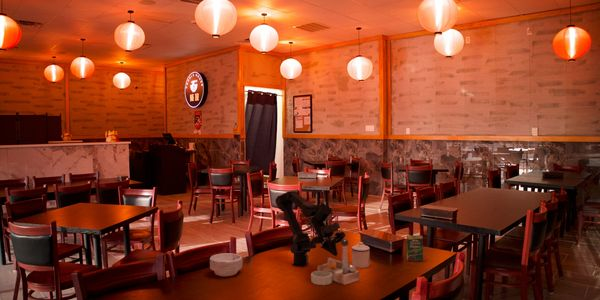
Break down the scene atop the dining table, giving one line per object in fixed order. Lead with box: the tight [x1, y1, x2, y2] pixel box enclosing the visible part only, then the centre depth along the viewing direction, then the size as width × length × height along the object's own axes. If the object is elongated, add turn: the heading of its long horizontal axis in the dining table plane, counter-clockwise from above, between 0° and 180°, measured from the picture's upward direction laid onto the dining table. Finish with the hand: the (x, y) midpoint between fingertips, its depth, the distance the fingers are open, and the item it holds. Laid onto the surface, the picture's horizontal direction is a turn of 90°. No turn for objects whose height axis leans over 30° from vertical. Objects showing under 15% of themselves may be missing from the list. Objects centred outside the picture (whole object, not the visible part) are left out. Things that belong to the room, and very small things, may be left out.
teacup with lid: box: [351, 241, 371, 269], centre depth 221 cm, size 12×9×12 cm
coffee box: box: [406, 234, 424, 262], centre depth 226 cm, size 8×3×13 cm, turn 82°
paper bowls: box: [209, 252, 243, 277], centre depth 209 cm, size 15×15×8 cm
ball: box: [329, 261, 336, 269], centre depth 203 cm, size 4×4×4 cm
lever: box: [327, 238, 356, 274], centre depth 201 cm, size 17×7×15 cm, turn 39°
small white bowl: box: [310, 270, 333, 286], centre depth 197 cm, size 9×9×4 cm
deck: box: [317, 262, 360, 285], centre depth 202 cm, size 18×9×4 cm, turn 39°
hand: (336, 255), depth 199 cm, fingers closed
